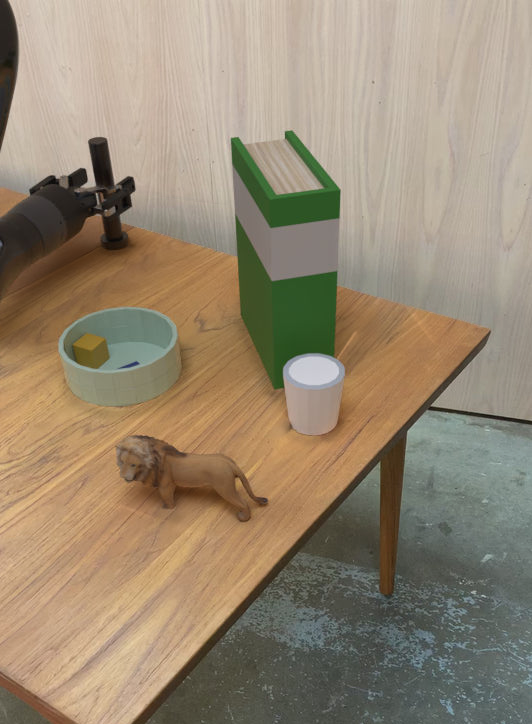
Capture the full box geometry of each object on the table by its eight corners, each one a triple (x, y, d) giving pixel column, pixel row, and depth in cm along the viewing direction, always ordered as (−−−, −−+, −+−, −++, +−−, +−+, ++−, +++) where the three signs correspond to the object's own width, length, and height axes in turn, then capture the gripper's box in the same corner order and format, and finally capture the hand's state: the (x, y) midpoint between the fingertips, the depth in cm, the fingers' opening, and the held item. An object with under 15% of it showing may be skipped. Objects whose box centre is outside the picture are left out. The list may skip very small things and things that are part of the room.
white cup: (277, 434, 88) (276, 384, 83) (290, 398, 93) (290, 349, 88) (337, 442, 87) (339, 392, 82) (347, 405, 92) (350, 355, 87)
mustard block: (76, 364, 98) (71, 344, 96) (91, 352, 100) (86, 332, 98) (95, 370, 97) (91, 350, 95) (110, 358, 99) (106, 338, 97)
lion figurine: (122, 524, 79) (107, 458, 72) (129, 487, 82) (116, 421, 76) (268, 522, 78) (265, 455, 72) (268, 485, 82) (265, 419, 76)
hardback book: (240, 318, 106) (230, 137, 90) (293, 309, 108) (292, 130, 91) (274, 393, 94) (269, 199, 77) (333, 382, 95) (340, 189, 79)
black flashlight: (96, 247, 123) (76, 144, 112) (109, 235, 126) (91, 133, 115) (121, 251, 122) (103, 147, 111) (134, 239, 125) (118, 136, 114)
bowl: (44, 393, 95) (33, 355, 91) (109, 334, 104) (102, 297, 101) (143, 422, 90) (137, 383, 87) (202, 357, 100) (198, 320, 96)
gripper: (80, 204, 102) (145, 159, 113) (-6, 188, 107) (64, 146, 118) (90, 257, 107) (152, 209, 118) (8, 239, 112) (74, 195, 123)
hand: (108, 178), depth 118 cm, fingers open, 8 cm apart
